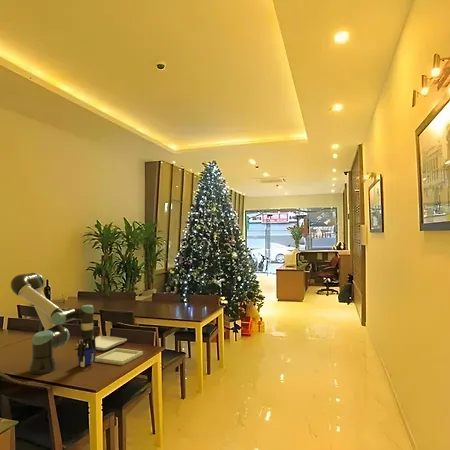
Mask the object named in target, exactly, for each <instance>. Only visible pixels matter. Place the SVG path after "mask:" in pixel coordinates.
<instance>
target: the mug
mask: <svg viewBox="0 0 450 450" xmlns="http://www.w3.org/2000/svg"><path fill="white" fill-rule="evenodd" d="M91 352H94V353H93V361H92V362H91V361H90V356H91ZM96 355H97V350H96V351H91V348H90V349H89V348H87V347H86V349H85V353H84V356H85V367H86V366H89V365H90V364H93V363H94V362H96V361H95V357H97V356H96ZM77 361H78V365H79V366H80V357H79V356H77Z"/></svg>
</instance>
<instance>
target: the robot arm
mask: <svg viewBox="0 0 450 450" xmlns="http://www.w3.org/2000/svg"><path fill="white" fill-rule="evenodd" d="M44 286H45V278H44V276H43V275H42V274H40V273H37V272H30V273H23V274H18V275H15V276H14V277H13V278H12V280H11V282H10V289H11V291H12V292H13V293H14V294H15V295H16V296H17V297H20V298H23V299H25V300H26V301H28V302H29V303H30V304H32V305H33V307H34V309H35V311H36V313H37V316H38V318H39V320H40V322H41V325H42V326H43V328H44V330H42V331H38V332H36V333H34V335H32V341H31V343H32V345H31V346H32V350H31V351H32V353H31V354H32V357H31V363H30V365H29V367H28V373H29V374H31V375H44V374H48V373H51V372H53V371H55V370H56V366H57V365H56V363H55V359H54V350H55V349H57V348H59V347H60V348H61V347H63V346H64V345H66V344H67V343H68V341H69V340H70V331H69V329H68V328H66V327H63V324H65V323H69V322H72V321H73V320H75V321H76V320H78V321H80V322H81V323H80V329H81V330H80V336H81V339H80V340H78V341H77V344H78V345H77V357H78V356H79V357H80V365H79V366H80V367H81V368H85V367H86V366H85V356H84V353H85V349H86V346H87V344H88V347H89V349H90V348H91V351H96V352H97V350H96V343H95V338H96V337H97V336H96V335H94V313H95V312H94V311H95V310H94V305H93V304H84V305H81V307H66V308H65V309H64V310H63V309H62V308H61V307H59V306H57V304H54V302H52V301H51V300H50V299H48V298H47V297H46V295H45V292H44V289H45V287H44ZM93 359H94V352H91V356H90V361H91V362H92V361H93Z"/></svg>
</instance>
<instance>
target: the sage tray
mask: <svg viewBox="0 0 450 450" xmlns="http://www.w3.org/2000/svg"><path fill="white" fill-rule="evenodd" d="M143 355H144V351H143V350H142V351H141V350H133V349H126V348H119V347H118V348H116V347H115V348H114V349H111V350H109V351H107V352H106V351H105V352H104V353H101V354H99V355H97V356H95V361H94V362H96V363H105V364H112V365H117V366H118V365H119V366H124V365H125V364H128V363H129V362H131V361H134V360H136V359H137V358H140V357H141V356H143Z"/></svg>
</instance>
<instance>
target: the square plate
mask: <svg viewBox="0 0 450 450" xmlns="http://www.w3.org/2000/svg"><path fill="white" fill-rule="evenodd" d="M127 340H128V339H127V338H125V337H124V338H123V337H117V336H105V335H99V336H96V338H95V343H96V351H107V350H110V349H111V348H114V347H117V346H119V345H122V344H123V343H126V341H127ZM76 346H78V343H76ZM86 347H87V348H89V347H88V344H87V346H86Z"/></svg>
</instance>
